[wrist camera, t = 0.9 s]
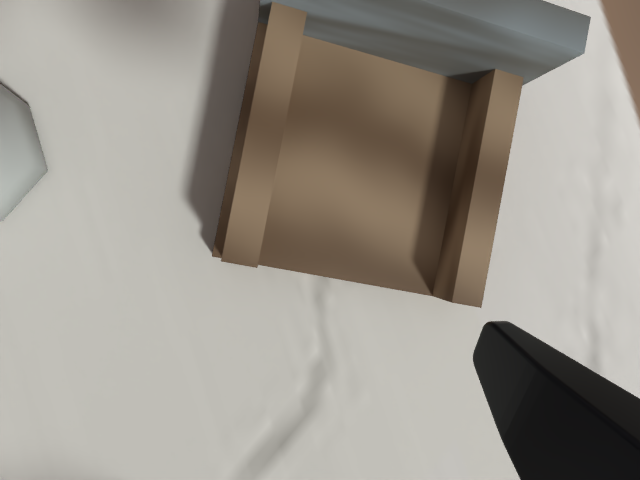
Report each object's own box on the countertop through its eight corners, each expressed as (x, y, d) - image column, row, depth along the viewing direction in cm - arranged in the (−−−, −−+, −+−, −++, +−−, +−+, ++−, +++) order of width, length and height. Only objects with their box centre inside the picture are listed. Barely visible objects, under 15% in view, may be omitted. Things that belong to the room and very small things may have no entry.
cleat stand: (457, 299, 23) (535, 322, 17) (213, 255, 20) (202, 264, 14) (501, 63, 23) (592, 5, 17) (265, -9, 20) (275, -107, 14)
